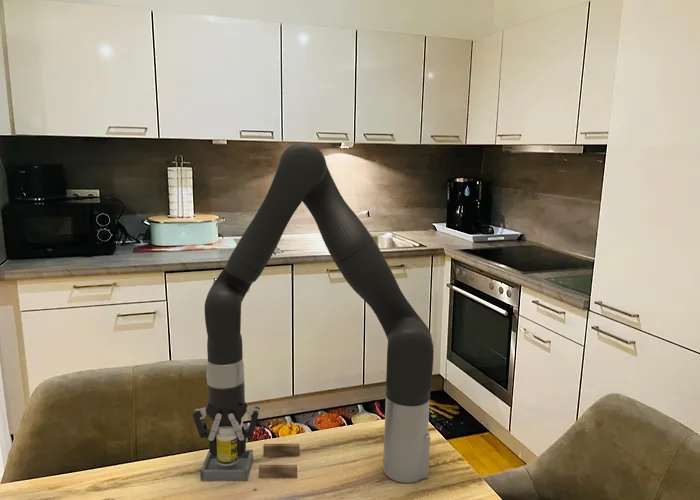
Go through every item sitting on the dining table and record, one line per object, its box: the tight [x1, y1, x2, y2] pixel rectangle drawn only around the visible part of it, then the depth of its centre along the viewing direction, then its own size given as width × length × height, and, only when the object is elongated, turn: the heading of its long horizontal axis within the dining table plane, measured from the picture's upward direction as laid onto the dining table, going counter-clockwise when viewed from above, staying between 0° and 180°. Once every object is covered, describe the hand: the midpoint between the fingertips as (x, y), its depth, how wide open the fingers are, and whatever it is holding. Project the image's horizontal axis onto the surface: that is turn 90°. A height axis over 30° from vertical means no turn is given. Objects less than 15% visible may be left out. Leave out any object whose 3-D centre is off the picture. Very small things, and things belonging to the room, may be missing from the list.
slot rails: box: [258, 443, 301, 479], centre depth 113 cm, size 8×9×2 cm
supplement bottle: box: [216, 426, 239, 466], centre depth 111 cm, size 5×5×8 cm
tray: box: [199, 449, 254, 482], centre depth 112 cm, size 10×8×2 cm
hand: (227, 453), depth 111 cm, fingers closed on supplement bottle, 4 cm apart
